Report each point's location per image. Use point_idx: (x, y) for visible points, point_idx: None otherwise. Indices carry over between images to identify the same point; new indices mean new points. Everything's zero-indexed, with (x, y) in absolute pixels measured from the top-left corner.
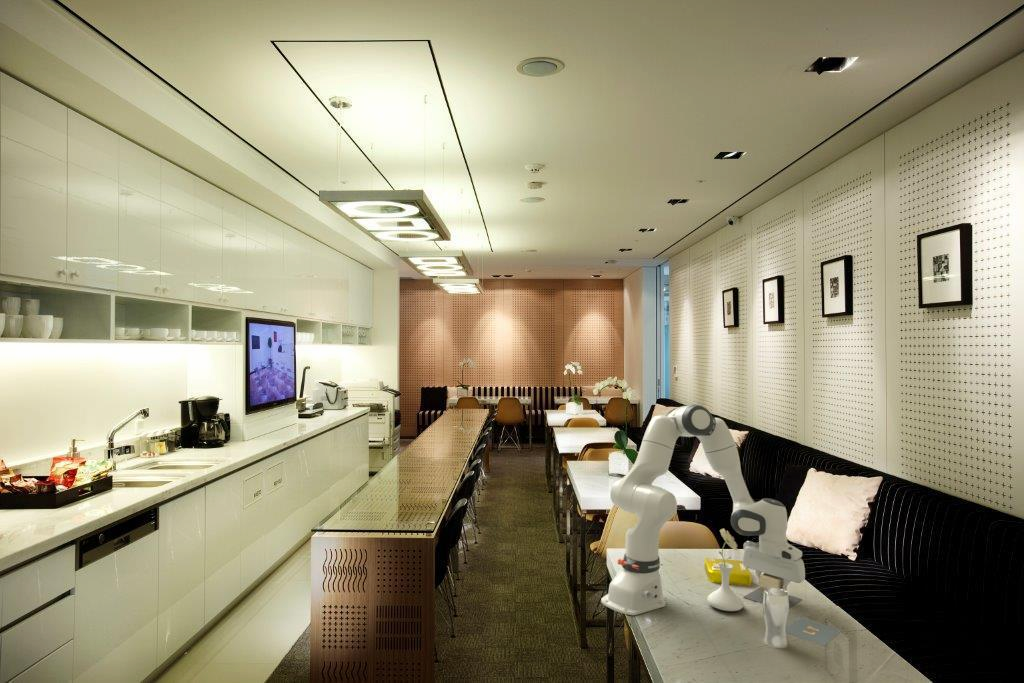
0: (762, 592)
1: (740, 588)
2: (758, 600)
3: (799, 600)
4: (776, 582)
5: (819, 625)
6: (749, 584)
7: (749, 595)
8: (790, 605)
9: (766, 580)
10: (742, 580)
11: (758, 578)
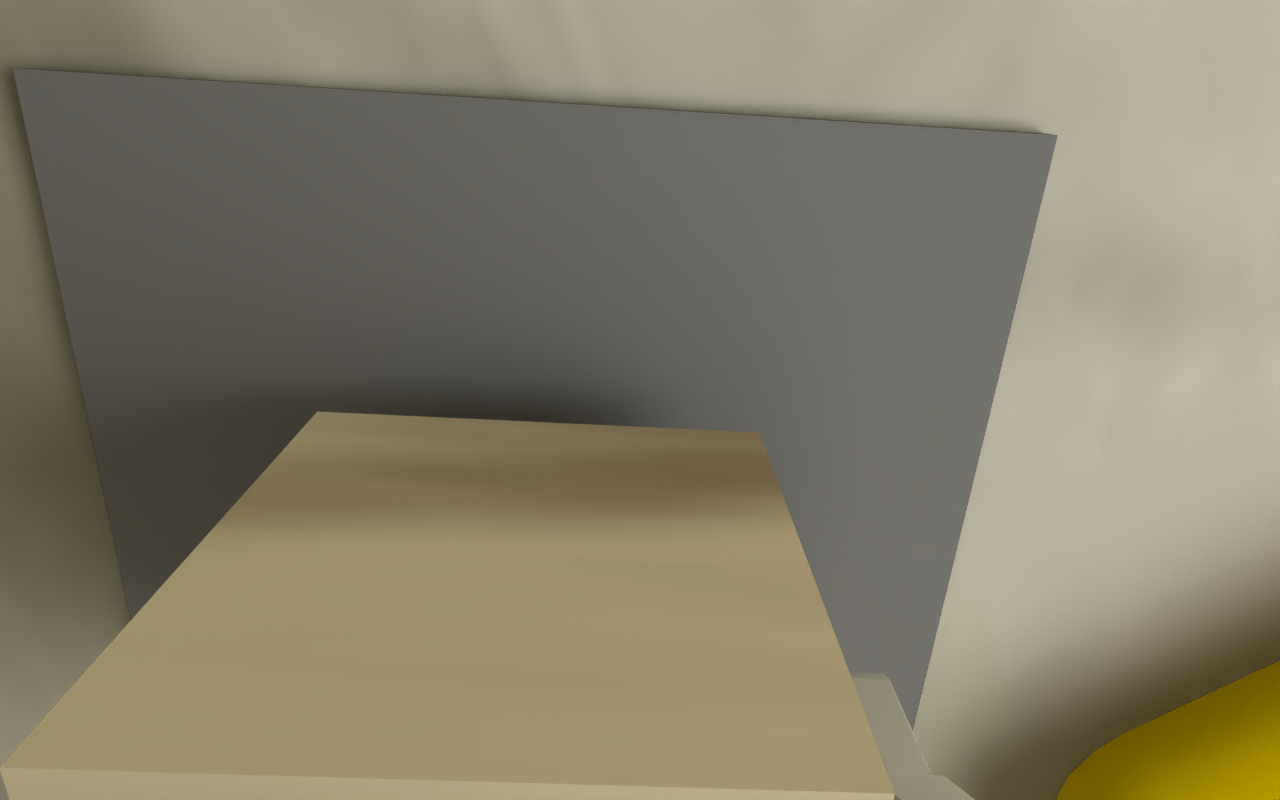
0: (701, 446)
1: (1194, 557)
2: (710, 204)
3: None
4: (118, 698)
5: None
6: (1081, 788)
7: (956, 322)
8: (127, 458)
9: (581, 677)
10: (1250, 778)
11: (944, 782)
